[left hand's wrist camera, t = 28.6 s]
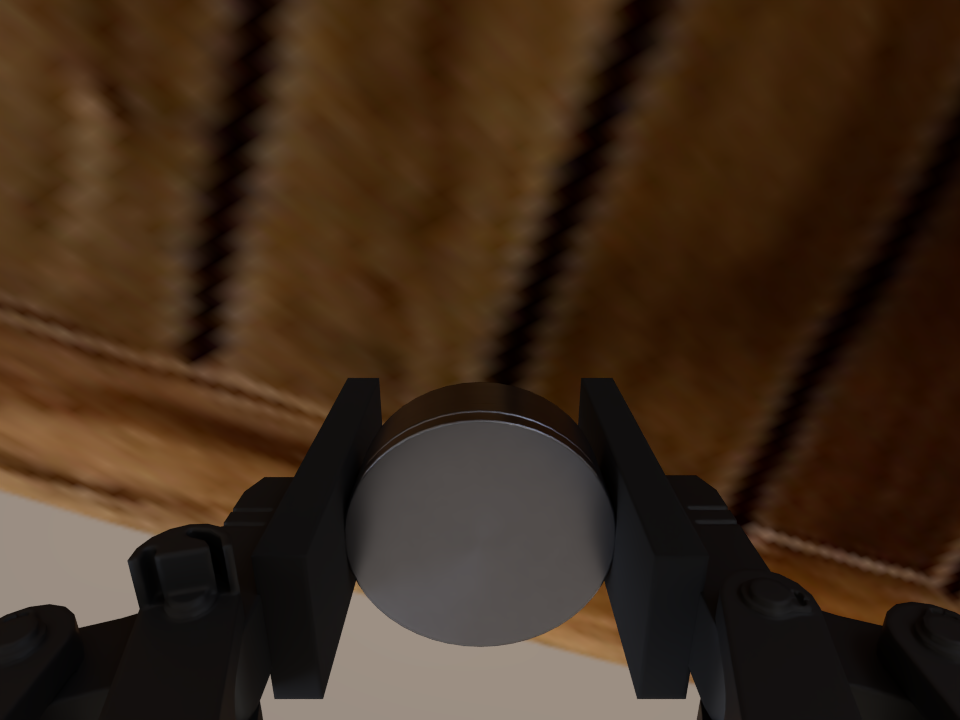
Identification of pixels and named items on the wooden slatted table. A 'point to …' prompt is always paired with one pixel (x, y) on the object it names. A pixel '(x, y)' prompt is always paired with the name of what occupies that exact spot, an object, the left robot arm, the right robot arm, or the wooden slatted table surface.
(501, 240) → the wooden slatted table surface
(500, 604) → the lid
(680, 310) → the wooden slatted table surface
